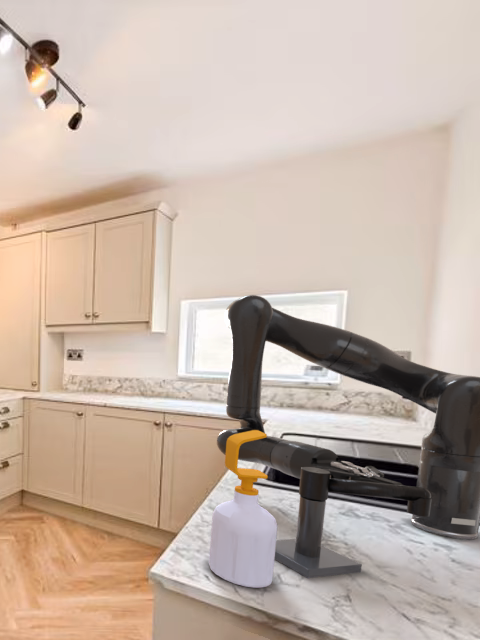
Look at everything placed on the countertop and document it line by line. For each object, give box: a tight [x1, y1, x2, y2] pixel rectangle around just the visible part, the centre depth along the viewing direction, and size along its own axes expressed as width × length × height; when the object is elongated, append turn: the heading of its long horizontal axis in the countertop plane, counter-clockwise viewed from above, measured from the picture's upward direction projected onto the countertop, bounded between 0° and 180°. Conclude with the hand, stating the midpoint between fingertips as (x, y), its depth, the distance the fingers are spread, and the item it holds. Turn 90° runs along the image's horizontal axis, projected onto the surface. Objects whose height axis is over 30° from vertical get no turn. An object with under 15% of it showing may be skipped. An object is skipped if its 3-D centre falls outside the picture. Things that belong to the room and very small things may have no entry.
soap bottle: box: [208, 430, 279, 589], centre depth 70 cm, size 9×9×25 cm
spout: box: [298, 467, 432, 517], centre depth 73 cm, size 18×4×6 cm, turn 70°
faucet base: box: [274, 494, 362, 579], centre depth 76 cm, size 11×10×12 cm
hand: (399, 490), depth 72 cm, fingers closed
